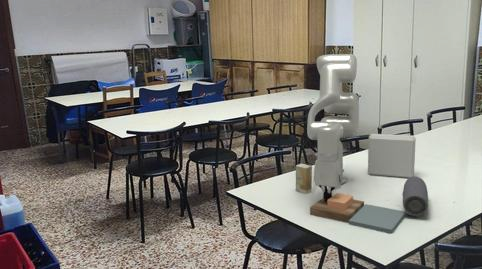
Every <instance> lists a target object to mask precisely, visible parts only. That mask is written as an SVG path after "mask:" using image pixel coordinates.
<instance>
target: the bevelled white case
mask: <svg viewBox="0 0 482 269" xmlns="http://www.w3.org/2000/svg"><path fill="white" fill-rule="evenodd" d="M416 139H417V138H416V137H415V136H414V135H412V134H411V135H409V134H408V135H407V134H386V133H385V134H384V133H371V134H370V135H369V136H368V145H367V146H368V150H367V151H368V152H367V154H368V156H367V174H369V175H370V176H379V177H380V176H382V177H391V178H392V177H394V178H401V179H402V178H403V179H408V178H410V177H414V176H415V164H416V163H415V162H416V161H415V160H416V158H415V157H416Z"/></svg>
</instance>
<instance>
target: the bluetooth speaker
mask: <svg viewBox="0 0 482 269" xmlns="http://www.w3.org/2000/svg"><path fill="white" fill-rule="evenodd" d="M402 190H403V191H402V205H403V209H404V211H405V212H406V214H408V215H409V216H414V217H420V216H422V215H424V214H426V212H427V210H428V206H429V192H428V187H427V184H426V182H425V181H424V179H423V178H421V176H415V175H414V176H413V177H410V178H406V181H405V182H404V185H403V188H402Z"/></svg>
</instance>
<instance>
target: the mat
mask: <svg viewBox="0 0 482 269" xmlns="http://www.w3.org/2000/svg"><path fill="white" fill-rule="evenodd" d="M406 215H407V212H406V211H405V210H400V209H396V208H395V209H393V208H390V207H389V208H388V207H384V206H377V205H373V204H367V203H366V204H365V203H364V206H363V207H362V208H361V209H360V210H359V211H358V212H357V213H356V214H355V215H354V216H353V217H352V218H351V219H350V220H349V223H348V225H351V226H356V227H359V228H364V229H369V230H374V231H378V232H382V233H387V234H393V233H394V231H395V230H396V229H397V227H398V226H399V225H400V223H401V222H402V221H403V220H404V219H405V217H406Z"/></svg>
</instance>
